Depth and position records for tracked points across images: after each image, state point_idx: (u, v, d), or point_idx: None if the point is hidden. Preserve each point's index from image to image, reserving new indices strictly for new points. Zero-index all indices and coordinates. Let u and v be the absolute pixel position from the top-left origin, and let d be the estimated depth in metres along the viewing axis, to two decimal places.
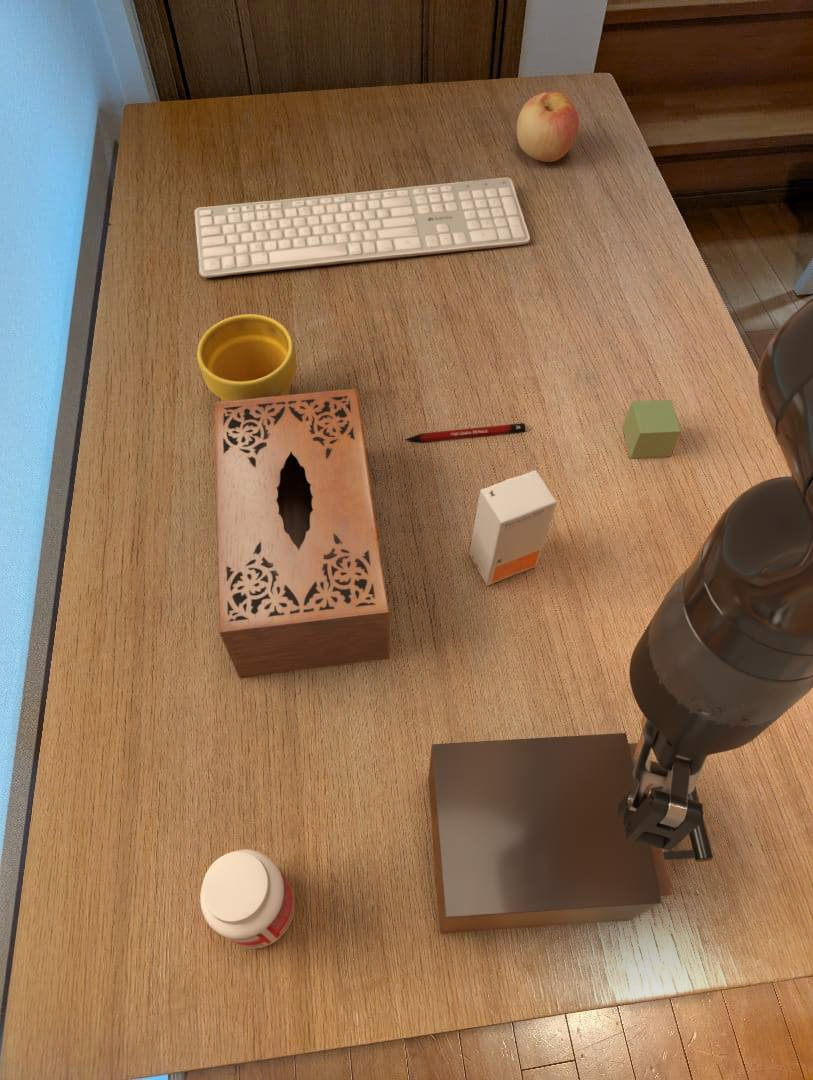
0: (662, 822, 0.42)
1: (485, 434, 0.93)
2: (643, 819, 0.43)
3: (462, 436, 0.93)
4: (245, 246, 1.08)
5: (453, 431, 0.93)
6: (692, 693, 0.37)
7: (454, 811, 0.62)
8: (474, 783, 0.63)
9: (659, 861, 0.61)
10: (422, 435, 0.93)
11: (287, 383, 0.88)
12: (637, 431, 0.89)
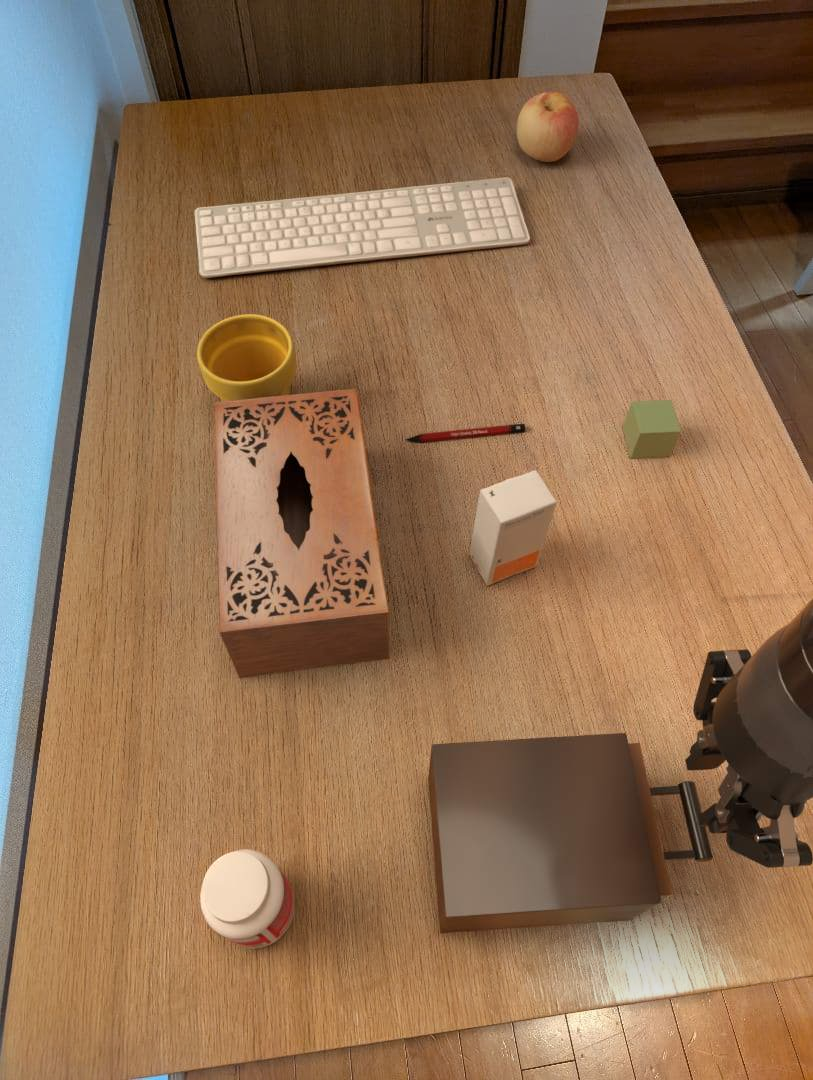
0: None
1: (485, 434, 0.93)
2: (755, 861, 0.48)
3: (462, 436, 0.93)
4: (245, 246, 1.08)
5: (453, 431, 0.93)
6: (809, 764, 0.40)
7: (454, 811, 0.62)
8: (474, 783, 0.63)
9: (659, 861, 0.61)
10: (422, 435, 0.93)
11: (287, 383, 0.88)
12: (637, 431, 0.89)
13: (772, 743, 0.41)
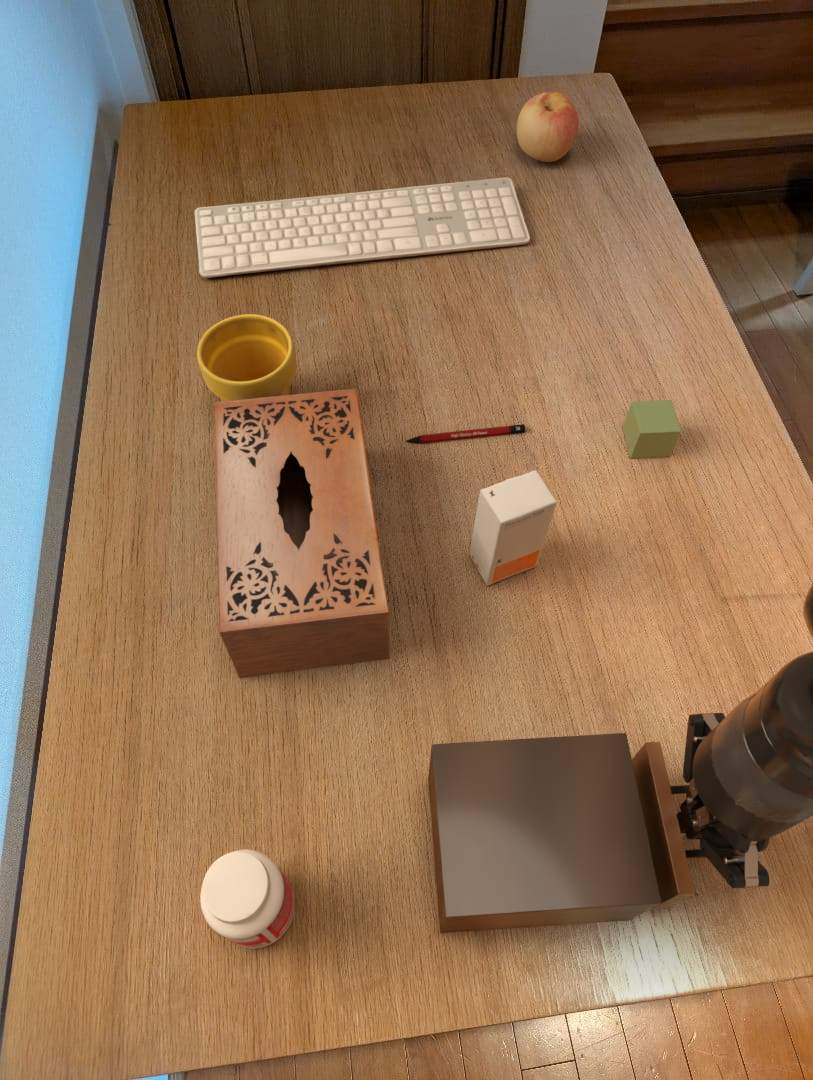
0: None
1: (485, 435, 0.93)
2: (722, 876, 0.57)
3: (462, 437, 0.93)
4: (245, 246, 1.08)
5: (453, 433, 0.93)
6: (769, 811, 0.49)
7: (454, 811, 0.62)
8: (474, 783, 0.63)
9: (681, 860, 0.61)
10: (422, 437, 0.93)
11: (287, 383, 0.88)
12: (637, 431, 0.89)
13: (739, 793, 0.50)
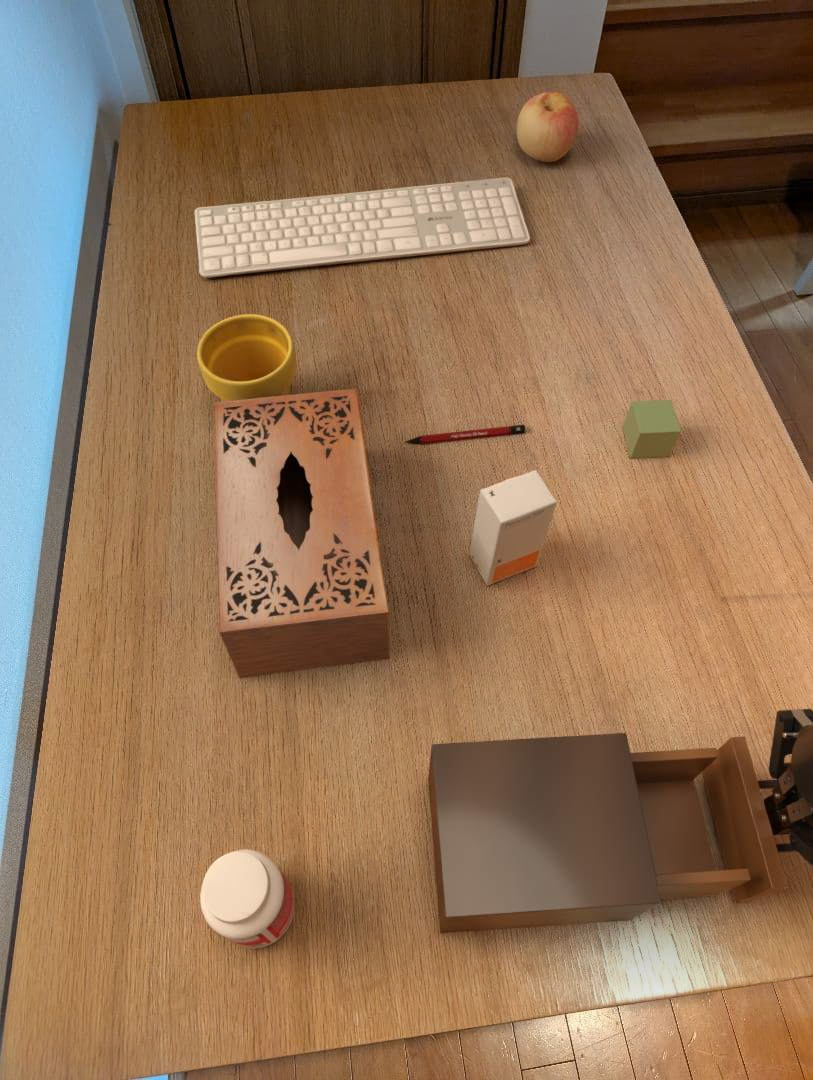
0: None
1: (485, 436, 0.93)
2: None
3: (462, 438, 0.93)
4: (245, 246, 1.08)
5: (453, 433, 0.93)
6: None
7: (454, 811, 0.62)
8: (474, 783, 0.63)
9: (773, 854, 0.62)
10: (422, 437, 0.92)
11: (287, 383, 0.88)
12: (637, 431, 0.89)
13: None
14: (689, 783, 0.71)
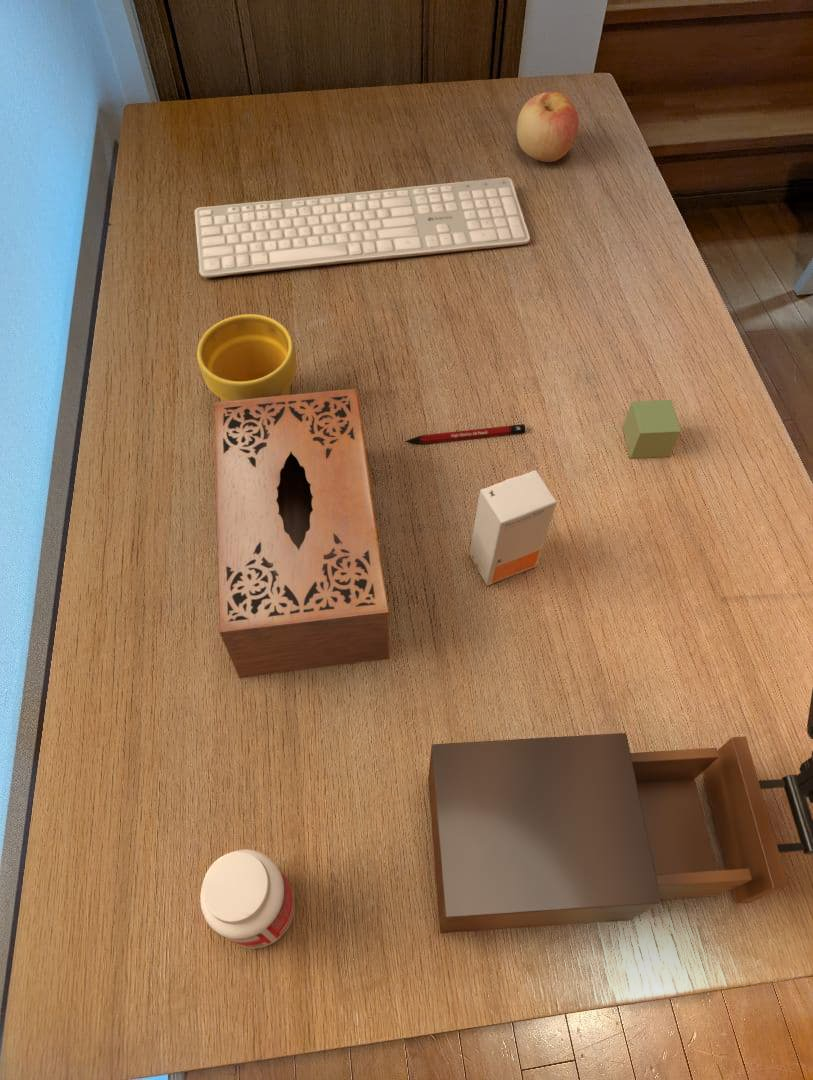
0: None
1: (485, 435, 0.93)
2: None
3: (462, 437, 0.93)
4: (245, 246, 1.08)
5: (453, 433, 0.93)
6: None
7: (454, 811, 0.62)
8: (474, 783, 0.63)
9: (774, 854, 0.62)
10: (422, 437, 0.92)
11: (287, 383, 0.88)
12: (637, 431, 0.89)
13: None
14: (690, 783, 0.71)
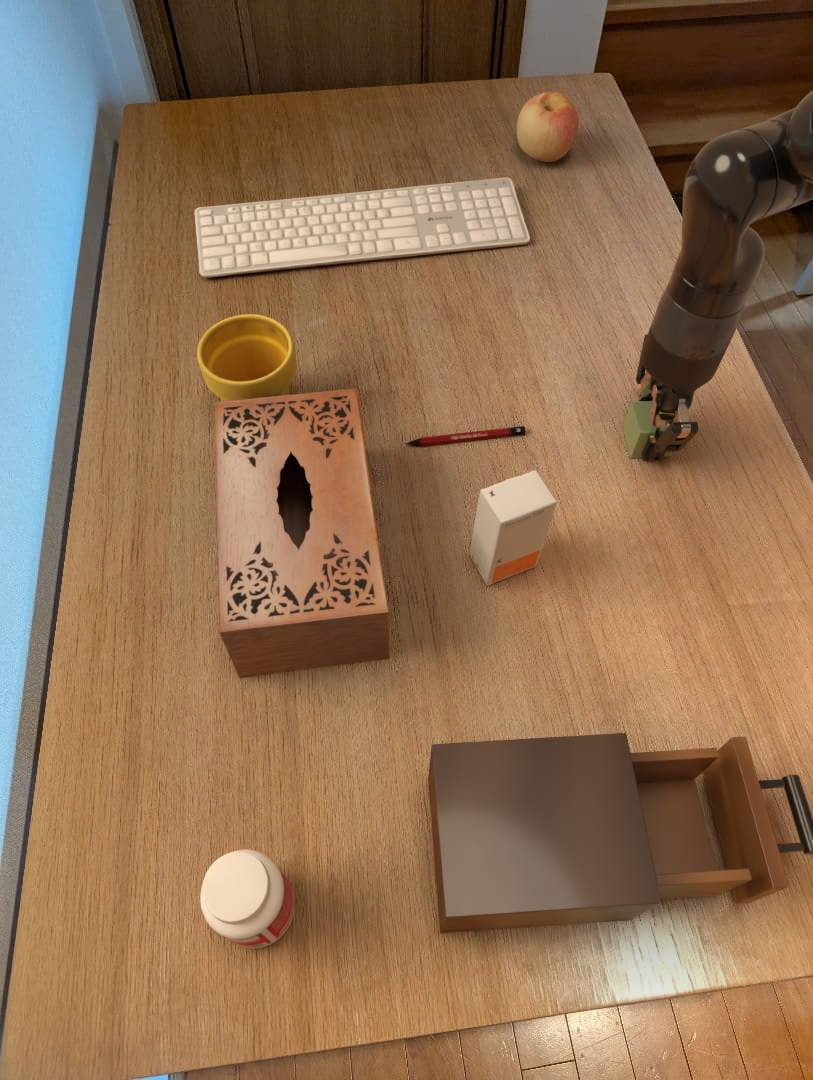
0: (678, 437, 0.82)
1: (485, 437, 0.93)
2: (668, 439, 0.83)
3: (462, 440, 0.93)
4: (244, 246, 1.08)
5: (453, 435, 0.93)
6: (686, 345, 0.76)
7: (454, 811, 0.62)
8: (474, 783, 0.63)
9: (774, 854, 0.62)
10: (422, 439, 0.92)
11: (287, 383, 0.88)
12: (637, 431, 0.89)
13: (668, 338, 0.77)
14: (690, 783, 0.71)
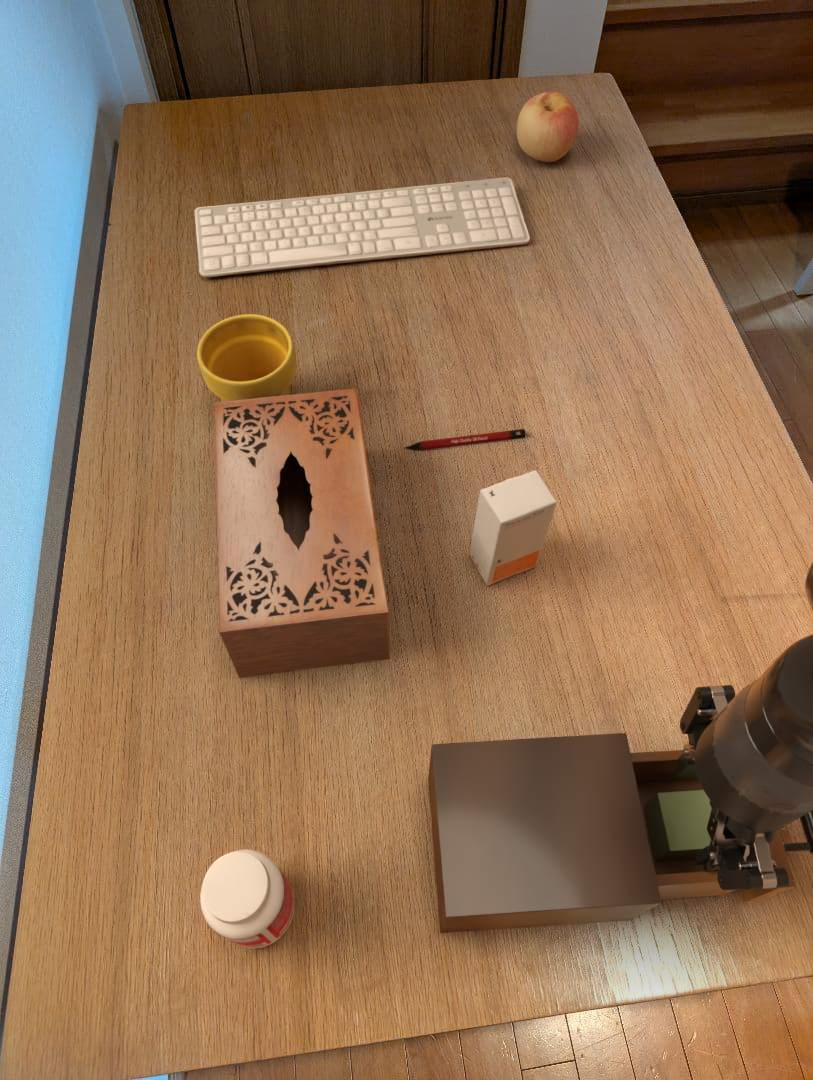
0: None
1: (485, 441, 0.93)
2: (741, 888, 0.53)
3: (462, 443, 0.93)
4: (244, 245, 1.08)
5: (453, 438, 0.92)
6: (773, 802, 0.47)
7: (454, 811, 0.62)
8: (474, 783, 0.63)
9: (780, 853, 0.62)
10: (422, 443, 0.92)
11: (287, 383, 0.88)
12: (666, 843, 0.65)
13: (742, 783, 0.48)
14: (696, 783, 0.71)
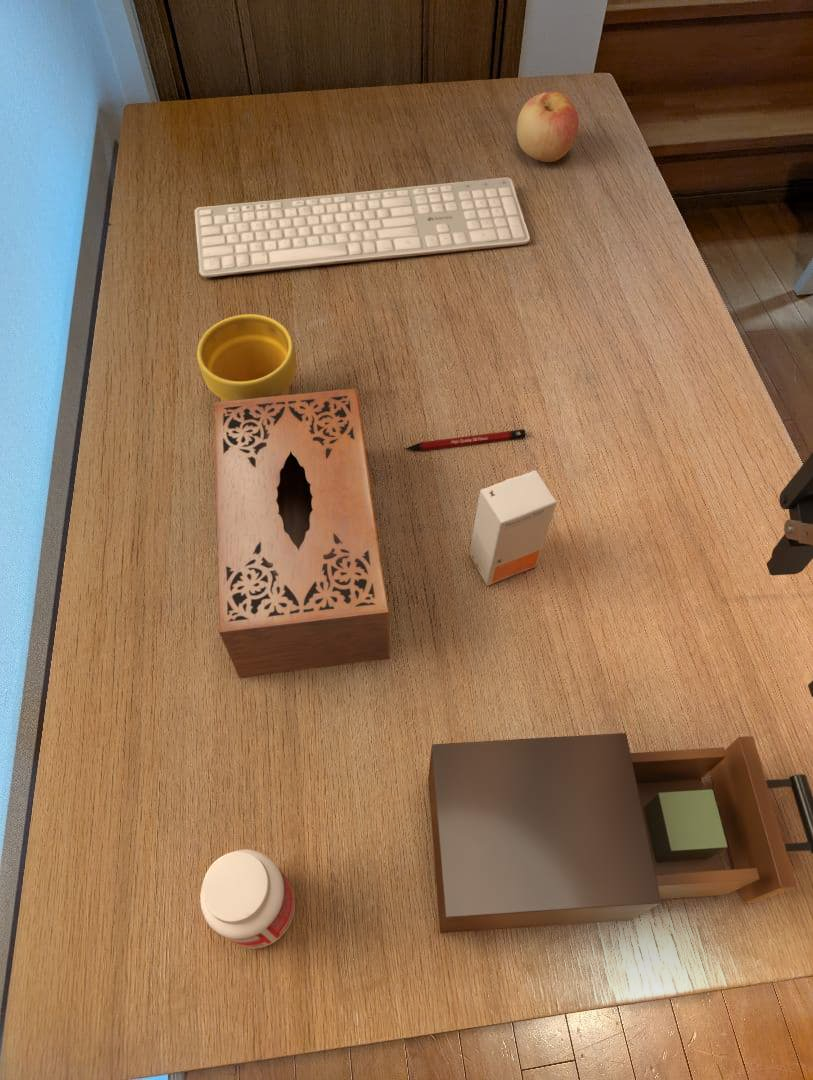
0: None
1: (485, 441, 0.93)
2: None
3: (462, 444, 0.92)
4: (244, 246, 1.08)
5: (453, 439, 0.92)
6: None
7: (454, 811, 0.62)
8: (474, 783, 0.63)
9: (781, 853, 0.62)
10: (422, 444, 0.92)
11: (287, 383, 0.88)
12: (667, 843, 0.65)
13: None
14: (697, 783, 0.71)
